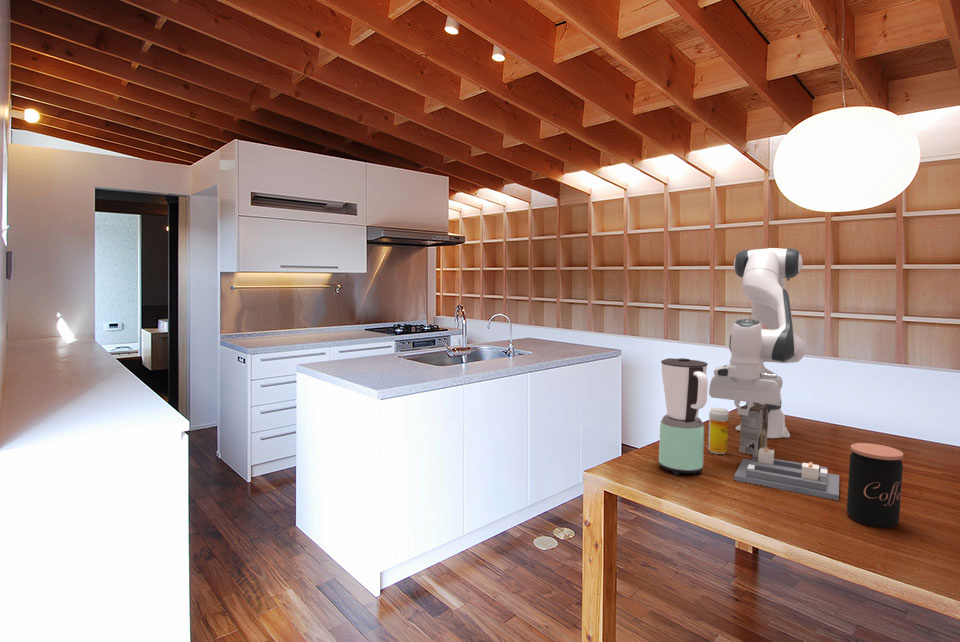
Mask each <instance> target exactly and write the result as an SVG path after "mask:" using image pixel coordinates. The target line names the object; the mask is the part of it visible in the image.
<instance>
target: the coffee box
mask: <svg viewBox="0 0 960 642" xmlns="http://www.w3.org/2000/svg"><path fill="white" fill-rule="evenodd" d="M748 406H749V405H747V404H746V403H745V404H744V405H742V406H740V407H741V408H742V409H747V408H748ZM740 424H741V425H740ZM740 424H739V425H740V431H739V453H741V452H742V453H741V454H745V453H747V454H746V455H750V454H752V455H751V456H753V455H756V456H758V451H759V449H760V448H764V449H765V448H766V447H767V448H768V438H767V430H768V406H767V405H762V404H757V403H753V405H752V406H751V408H750V409H749V414H748V416H745V415H740Z"/></svg>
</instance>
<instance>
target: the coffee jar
mask: <svg viewBox="0 0 960 642" xmlns="http://www.w3.org/2000/svg"><path fill="white" fill-rule="evenodd" d="M850 451H851V452H850V455H849V467H848V468H849V469H848V481H847V482H848V485H847V497H846V498H847V499H846V500H847V503H846V512H847V514H848V515H849V517H850V518H851V519H852V520H853V521H854V522H855V521H856V522H857V523H859V524H861V525H865V526H869V527H873V528H878V529H891V528H894V527H895V526H896V525H898V523H900V513H901V510H900V509H901V498H902V496H901V495H902V487H903V486H902V482H903V472H904V471H903V469H904V465H903V462H902V459H904V453H903V452H902V451H901V449H900V450H899V449H897V448H894V447H891V446H888V445H887V446H886V445H884V444H883V445H882V444H877V443H868V442H857V443H853V444H851V445H850Z"/></svg>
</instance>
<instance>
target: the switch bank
mask: <svg viewBox="0 0 960 642" xmlns="http://www.w3.org/2000/svg"><path fill="white" fill-rule="evenodd" d="M803 463H804V462H801V463H800V462H797V461H791V460H789V461H788V460H784V459H779V458H774V465H772V464H767V463H761V462H758V456H755V455H752V457H751V459H748V458H742V461H740V465H739V466H738V467H737V470H736V471H735V474H734V475H733V481H734V480H736V481H735V482H740V481H741V482H740V483H745V482H747V483H746V484H750V483H751V484H750V485H755V484H757V485H756V486H760V485H762V487H765V486H767V487H766V488H772V489H776V490H782V491H786V492H791V491H792V493H797V494H803V495H808V496H812V497H817V498H818V497H819V498H823V499H827V498H828V500H832V499H833V500H834V501H838V500H839V498H840V497H839V496H840V475H839V474H834V473H829V472H828V469H829V468H828V467H825V466H820V465H819V477H818V481H814V480H809V479H803V478H801V477H802V464H803Z"/></svg>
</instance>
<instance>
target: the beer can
mask: <svg viewBox="0 0 960 642" xmlns="http://www.w3.org/2000/svg"><path fill="white" fill-rule="evenodd" d="M708 413H709V414H708V415H709V418H708V442H707V443H708V445H707V449H708V451H709V452H710V454H713V453H714V454H713V455H718V454H723V455H725V453H726V454H727V452H728V447H729V446H728V445H729V443H728V441H729V418H730V413H729V412H728V409H727V408H722V407H711V408H710V410H709V412H708Z"/></svg>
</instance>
